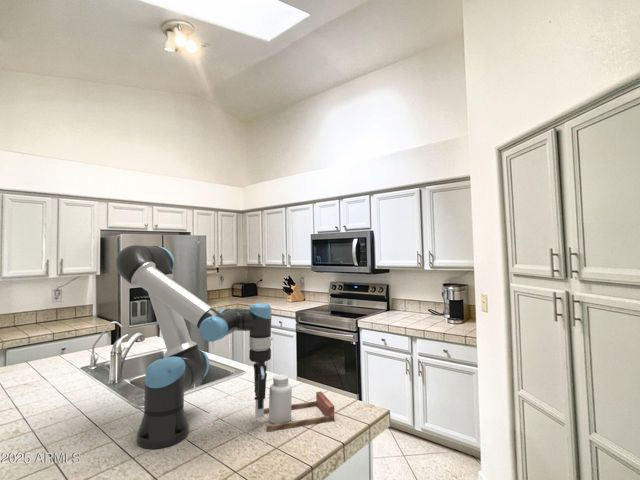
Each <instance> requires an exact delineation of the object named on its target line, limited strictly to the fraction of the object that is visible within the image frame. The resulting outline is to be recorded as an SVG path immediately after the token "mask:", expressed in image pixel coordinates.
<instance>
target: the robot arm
mask: <svg viewBox="0 0 640 480" xmlns="http://www.w3.org/2000/svg"><path fill="white" fill-rule="evenodd" d="M174 266H175V258H174V255H173V254H172V252H171V251H170V250H168V249H167V248H165V247H162V246H159V245H137V244H134V245H129V246H126V247H125V248H122V250H120V251H119V252H118V254H117V255H116V258H115V268H116V271H117V273H118V275H120V277H122V279H123V280H125V281H126V282H128V283H129V284H130V285H132V286H133V287H140V288H142V289H143V290H145V291H146V292H147V294H148V296H149V299H150V303H151V305H152V309H153V313H154V314H155V318H156V321H157V323H158V327H159V330H160V333H161V336H162V339H163V342H164V345H165V348H166V353H165V354H164V357H163V358H159V359H157V360H154V361H152V362H151V363H150V364H149V365H148V366H147V368H146V370H145V376H144V404H143V405H144V409H143V411H144V413H143V417H142V419H141V422H140V425H139V428H138V431H137V434H136V443H137V445H138V446H140V448H141V447H142V448H143V449H150V450H151V449H152V450H153V449H154V450H155V449H156V450H157V449H162V448H167V447H170V446H173V445H176V444H178V443H179V442H182V441H183V440H184V439H185V438H187V436H188V435H189V431H190V429H189V428H190V424H189V421H188V418H187V414H186V411H185V408H184V406H185V392H187V391H188V390H189V389H191V388H193V387H194V386H196V385H198V384H199V383H200V382H201V381H202V380H203V379H204V378H205V377H206V375H208V371H209V369H210V360H209V357H208V356H209V355H207V353H206V352H205V351H203V350H202V349H200V348H199V345H198V343H197V342H195V341H194V340H192V339H191V336H190V333H189V329H188V327H187V324H186V321H185V320H187V321H188V322H189V323H191V324H192V325H193V326H194V327H196V328H198V329H199V335H200V336H201V338H202V339H203V340H205V341H206V342H209V343H210V342H216V341H219V340H222V339H224V338H225V337H226V336H228V335H230V334H232V333H234V332H236V331H238V332H239V331H241V332H243V331H244V332H249V336H248V337H249V339H248V340H249V341H248V345H249V346H248V348H250V349H249V351H248V353H249V354H248V356H249V357H248V358H249V361H250V362H253V363H254V364H253V370H254V371H253V372H254V374H253V375H254V393H255V395H254V396H255V397H253V398H254V401H255V406H254V407H255V419H260V418H265V414H264V409H265V399H266V390H267V389H266V386H267V376H268V373H267V370H268V369H267V364H266V362H268V361H270V360H271V359H272V349H271V346H272V342H271V341H273V337H272V318H273V317H272V306H271V305H270V304H269V303H258V302H257V303H252V304H250V305H249V308H248V309H244V308H242V309H239V308H238V309H237V308H220V309H219V310H216V309H215V308H213V307H212V306H211V305H209V304H208V303H206V301H203V300H202V299H200V298H199V297H197V295H195V294H193V293H192V292H191V291H189V290H188V289H186V288H185V287H184V286H182V285H181V284H179V283H177V281H175V280H173V277H174V273H173V270H174Z"/></svg>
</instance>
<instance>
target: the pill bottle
mask: <svg viewBox="0 0 640 480" xmlns="http://www.w3.org/2000/svg"><path fill="white" fill-rule="evenodd" d="M272 379H273V380H272V381H273V383H272V384H271V385H270V386H269V393H268V395H269V397H268V399H269V400H268V408H269V413H268V421H269V422H270V423H271V424H273V425H274V424H280V423H287V422H291V419H292V410H291V405H292V393H293V389H292V388H293V387H292V385H291V383H289V376H288V375H287V374H282V373H281V374H276V375H274V376H273V377H272Z"/></svg>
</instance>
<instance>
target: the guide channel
mask: <svg viewBox="0 0 640 480" xmlns="http://www.w3.org/2000/svg"><path fill="white" fill-rule="evenodd" d="M315 399H316V400H314V401H309V402H307V401H306V402H301V403H293V404H291V411H292V410H300V409H306V408H312V407H317V408H318V409H319V411H320V412H321V413H322V414H323V416H320V417H319V416H318V417H313V418H308V419H307V418H305V419H300V420H294V421H289V422H287V423H280V424H274V423H273V424H268V425H266V433H267V432H274V431H280V430H285V429H291V428H297V427H304V426H311V425H315V424H322V423H329V422H334V421H335V405H334V404H333V403H332V401H331V400H330V399H329V398H328V397H327V396H326V395H325V394H324V393H323V392H322V391H317V392H316V395H315ZM265 414H266V415H268V414H269V407H264V415H265Z"/></svg>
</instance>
